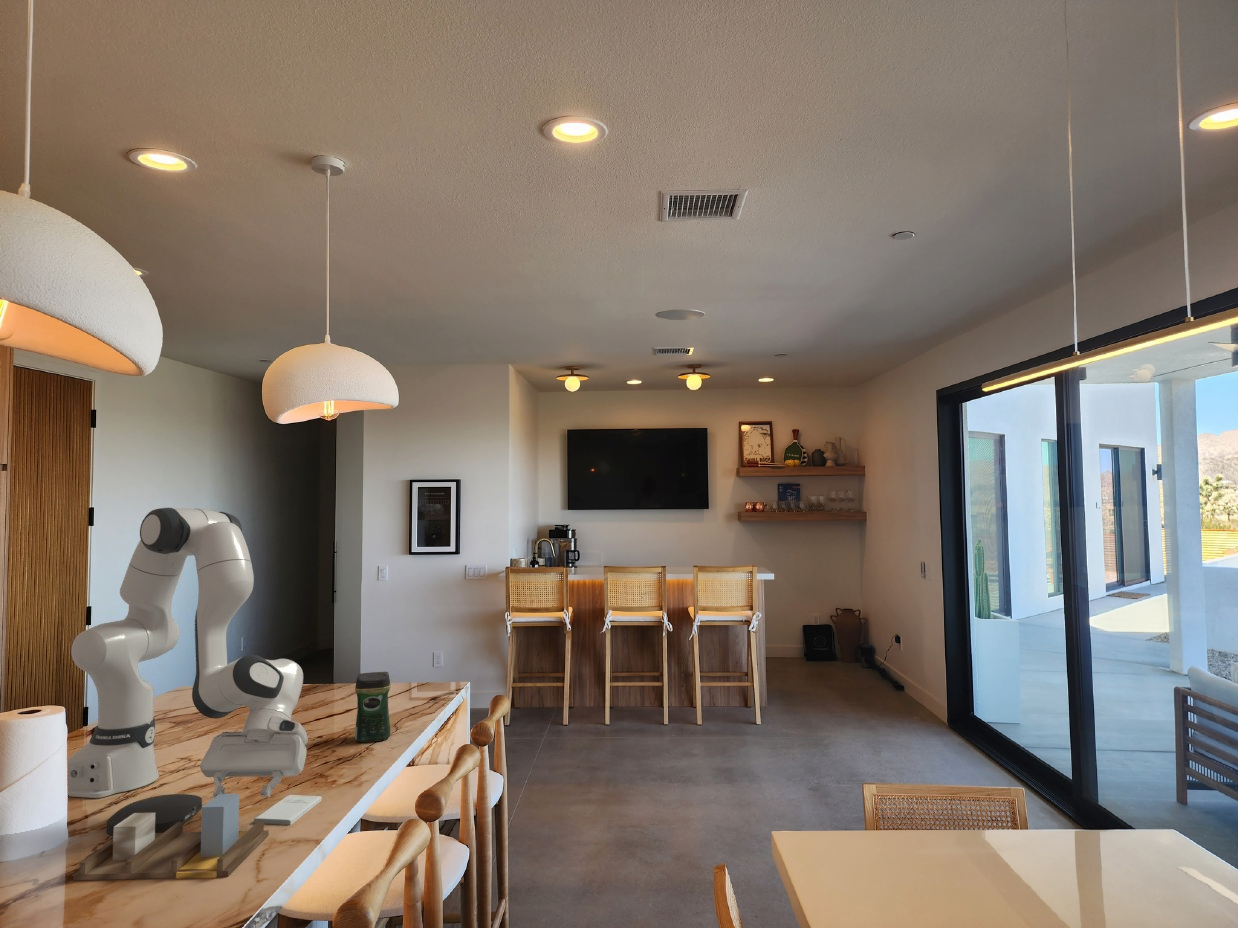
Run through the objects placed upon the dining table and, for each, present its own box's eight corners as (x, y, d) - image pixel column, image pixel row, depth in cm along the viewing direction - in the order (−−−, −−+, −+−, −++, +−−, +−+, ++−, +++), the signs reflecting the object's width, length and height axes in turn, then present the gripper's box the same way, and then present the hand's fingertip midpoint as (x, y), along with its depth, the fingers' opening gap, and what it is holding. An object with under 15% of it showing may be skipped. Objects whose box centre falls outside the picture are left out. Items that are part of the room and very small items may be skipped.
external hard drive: (253, 826, 150) (287, 801, 162) (290, 827, 149) (321, 802, 161) (253, 818, 150) (287, 793, 162) (290, 819, 149) (321, 795, 162)
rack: (72, 881, 127) (73, 840, 127) (131, 838, 143) (132, 802, 144) (227, 877, 128) (228, 836, 128) (268, 835, 144) (269, 799, 145)
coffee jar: (390, 732, 209) (391, 668, 210) (389, 741, 202) (390, 674, 203) (355, 735, 207) (356, 670, 208) (353, 744, 199) (354, 676, 200)
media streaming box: (140, 807, 159) (141, 793, 159) (208, 805, 160) (209, 791, 160) (97, 837, 145) (97, 822, 145) (172, 835, 145) (173, 820, 146)
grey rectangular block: (200, 856, 133) (201, 807, 134) (217, 841, 139) (218, 794, 140) (222, 856, 133) (223, 806, 134) (238, 841, 139) (239, 793, 140)
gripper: (210, 724, 153) (182, 789, 143) (307, 723, 154) (287, 788, 143) (221, 739, 157) (194, 803, 147) (315, 738, 158) (295, 802, 147)
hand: (241, 796), depth 145 cm, fingers open, 8 cm apart
